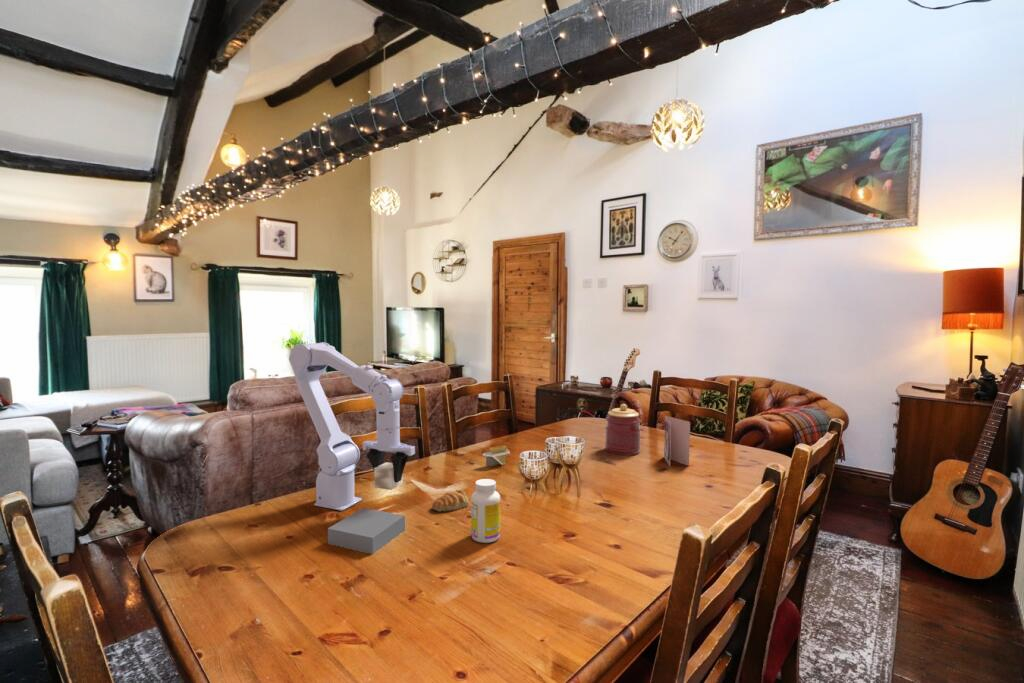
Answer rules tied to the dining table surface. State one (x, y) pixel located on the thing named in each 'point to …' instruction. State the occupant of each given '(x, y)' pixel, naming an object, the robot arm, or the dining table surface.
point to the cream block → (385, 477)
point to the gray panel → (366, 530)
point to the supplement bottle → (485, 512)
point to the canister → (623, 431)
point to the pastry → (451, 501)
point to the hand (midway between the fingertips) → (388, 479)
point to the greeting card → (676, 440)
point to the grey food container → (496, 456)
